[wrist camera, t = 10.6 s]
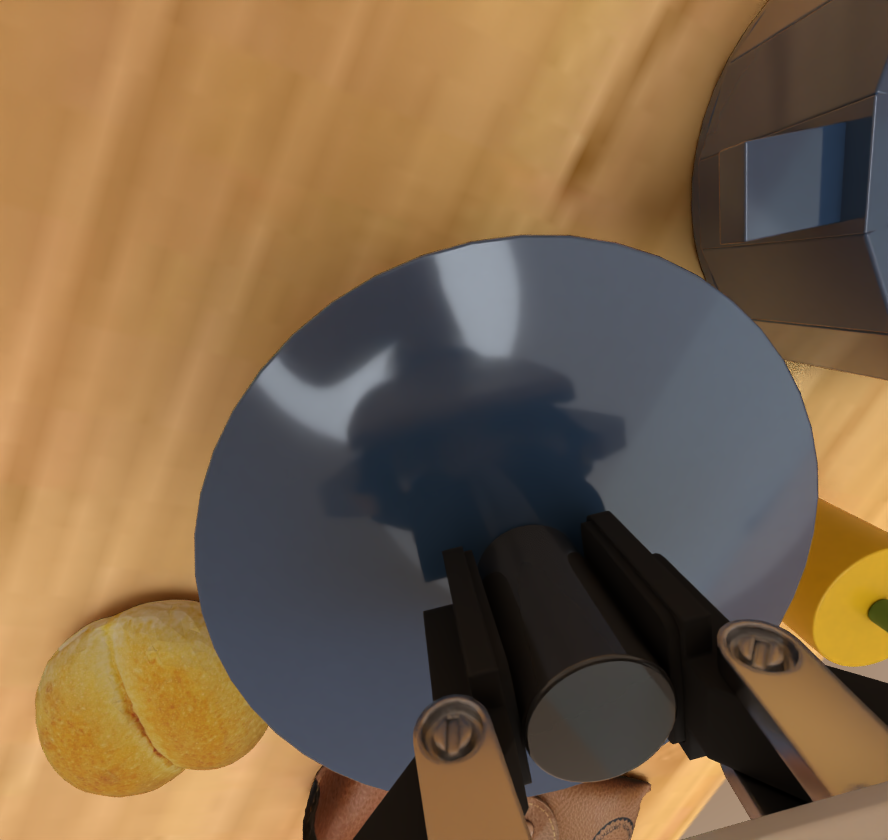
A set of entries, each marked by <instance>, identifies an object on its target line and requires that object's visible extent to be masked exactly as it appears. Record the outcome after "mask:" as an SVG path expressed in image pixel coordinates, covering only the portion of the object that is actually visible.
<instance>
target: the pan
mask: <svg viewBox="0 0 888 840" xmlns="http://www.w3.org/2000/svg"><path fill="white" fill-rule="evenodd" d="M691 211H692V222H693V233H694V239H695V244H696V249H697V253H698V258H699V262H700V265H701V268H702V270H703V273H704V276H705V279H706V282H708V283H709V284H711V285H712V286H713V287H715V288H716V289H718V290H719V291H720V292H722V293H723V294H725V295H726V296H727V297H729V298H730V299H731V300H733V301H734V302H735V303H736V304H737V305H738V306H739V307H740V308H741V309H742V310H743V311H744V312H745V313H746V314H747V315H748V316H749V317H750V318H751V319H752V320H753V321H754V322H755V323H756V324H757V325H758V326H759V327H760V328H761V329H762V331H763V332H764V333H765V335H766V336H767V338H768V339H769V340H770V342H771V343H772V344H773V346H774V347H775V349H776V350H777V351H778V353H779V354H780V355H781V357H782V358H783V360H787V361H792V362H797V363H802V364H807V365H812V366H816V367H821V368H826V369H831V370H836V371H841V372H846V373H851V374H856V375H861V376H866V377H871V378H876V379H881V380H886V381H888V0H769V1H768V2H767V3H766V5H765V6H764V7H763V9H762V10H761V11H760V12H759V14H758V15H757V16H756V18H755V19H754V20H753V22H752V23H751V24H750V25H749V27H748V28H747V30H746V31H745V33H744V35H743V36H742V38H741V39H740V41H739V43H738V44H737V46H736V48H735V49H734V51H733V52H732V54H731V56H730V57H729V59H728V61H727V64H726V66H725V68H724V70H723V72H722V74H721V76H720V78H719V80H718V82H717V84H716V86H715V89H714V92H713V94H712V97H711V100H710V103H709V105H708V108H707V111H706V114H705V117H704V120H703V124H702V128H701V132H700V136H699V140H698V144H697V148H696V154H695V162H694V169H693V176H692V200H691Z"/></svg>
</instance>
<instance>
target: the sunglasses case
mask: <svg viewBox="0 0 888 840" xmlns="http://www.w3.org/2000/svg"><path fill="white" fill-rule="evenodd" d="M649 791H651V784H649V783H648V782H646V781H643V780H638V779H633V778H629V777H625V776H621V775H620V776H618V777H614V778H611V779H608V780H603V781H598V782H588V783H582V784H579V785H576V786H573V787H570V788H567V789H563V790H559V791H554V792H550V793H546V794H541V795H537V796H532V797H527V801H528V805H529V809H528V811H527V813H526V815H525V819H526V822H527V825H528V828H529V831H530V834H531V837H532V840H631V837H632V834H633V830H634V827H635V823H636V819H637V816H638V812H639V809H640V803H641V800H642V798H643V797H644V795H645V794H646V793H647V792H649ZM387 793H388V791H385V790H381V789H378V788H374V787H371V786H368V785H364V784H362V783H359V782H357V781H355V780H352V779H350V778H348V777H345V776H343V775H341V774H338V773H336V772H333V771H332V770H330V769H328V768H326V767H325V766H322V767H321V769H320V770H319V771H318V772H317V774H316V778H315V780H314V783H313V785H312V788H311V791H310V795H309V799H308V802H307V806H306V809H305V817H304V819H303V840H353V838H354V837H355V836H356V834H357V833H358V832H359V830H360V829H361V828H362V826H363V825H364V824H365V822H366V821H367V820H368V818H369V817H370V815H371V814H372V813H373V811H374V810H375V809H376V807H377V806H378V805H379V803H380V802H381V801H382V799H383V798H384V797H385V795H386V794H387Z"/></svg>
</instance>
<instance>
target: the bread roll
mask: <svg viewBox="0 0 888 840" xmlns="http://www.w3.org/2000/svg"><path fill="white" fill-rule="evenodd" d="M35 706H36V726H37V730H38V735H39V740H40V743H41V746H42V749H43V751H44V753H45V755H46V757H47V759H48V761H49V763H50V764H51V766H52V767H53V768H54V770H55V771H56V772H57V773H58V774H59V775H60V776H61V777H62V778H63V779H64V780H65V781H67V782H68V783H70V784H71V785H73V786H74V787H76V788H78V789H80V790H82V791H84V792H88V793H93V794H97V795H103V796H109V797H125V796H132V795H138V794H143V793H147V792H150V791H153V790H155V789H158V788H160V787H161V786H163V785H164V784H166V783H168V782H169V781H171V780H172V779H174V778H175V777H176V776H178V775H179V774H180V773H182V772H183V771H184V770H185V769H193V770H212V769H218V768H221V767H225V766H227V765H230V764H232V763H234V762H235V761H237V760H239V759H240V758H242V757H243V756H244V755H246V754H247V753H248V752H249V751H250V750H251V749H253V748H254V746H255V745H256V744H257V743H258V741H259V740H260V739H261V737H262V736H263V734H264V733H265V731H266V729H267V727H268V725H267V724H266V723H265V722H264V721H263V720H262V719H261V718H260V717H259V716H258V715H257V714H256V713H255V712H254V711H253V709H252V708H251V707H250V706H249V704H248V703H247V702H246V700H245V699H244V698H243V696H242V695H241V694H240V692H239V691H238V689H237V688H236V687H235V685H234V684H233V683H232V681H231V680H230V678H229V676H228V674H227V672H226V670H225V669H224V667H223V665H222V663H221V661H220V659H219V657H218V655H217V653H216V651H215V650H214V647H213V644H212V642H211V639H210V636H209V633H208V630H207V627H206V624H205V621H204V618H203V615H202V612H201V606H200V603H199V602H196V601H191V600H163V601H155V602H149V603H145V604H141V605H138V606H135V607H132V608H130V609H128V610H126V611H123V612H121V613H119V614H117V615H115V616H112V617H107V618H103V619H99V620H97V621H94V622H92V623H90V624H88V625H86V626H85V627H83V628H82V629H81V630H79V631H78V632H77V633H75V634H74V635H73V636H71V637H70V638H68V639H67V640H66V641H65V642H64V643H63V644H62V645H61V646H60V647H59V648H58V650H57V651H56V652H55V654H54V655H53V656H52V658H51V659H50V660H49V661H48V663H47V665H46V667H45V669H44V672H43V675H42V677H41V680H40V683H39V686H38V689H37V692H36V698H35Z"/></svg>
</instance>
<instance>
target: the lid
mask: <svg viewBox="0 0 888 840" xmlns="http://www.w3.org/2000/svg"><path fill="white" fill-rule="evenodd" d="M817 504H818V465H817V457H816V451H815V445H814V439H813V433H812V427H811V424H810V421H809V418H808V415H807V412H806V409H805V406H804V402H803V399H802V396H801V393H800V391H799V389H798V387H797V385H796V383H795V381H794V379H793V377H792V375H791V373H790V371H789V369H788V367H787V365H786V363H785V361H784V360H783V358H782V357H781V355H780V354H779V353H778V351H777V350H776V349H775V347H774V346H773V344H772V343H771V342H770V340H769V339H768V338H767V336H766V335H765V333H764V332H763V331H762V329H761V328H760V327H759V326H758V325H757V324H756V323H755V322H754V321H753V320H752V319H751V318H750V317H749V316H748V315H747V314H746V313H745V312H744V311H743V310H742V309H741V308H740V307H739V306H738V305H737V304H736V303H735V302H734V301H733V300H731V299H730V298H729V297H727V296H726V295H725V294H723V293H722V292H720V291H719V290H718V289H716V288H715V287H713V286H712V285H711V284H709V283H708V282H706V281H705V280H704V279H702V278H701V277H699V276H698V275H696V274H694V273H692V272H690V271H688V270H686V269H684V268H682V267H680V266H678V265H676V264H674V263H672V262H670V261H668V260H666V259H664V258H662V257H660V256H657V255H654V254H651V253H648V252H645V251H641V250H638V249H635V248H632V247H629V246H626V245H623V244H619V243H616V242H610V241H604V240H597V239H591V238H585V237H579V236H572V235H514V236H506V237H499V238H491V239H484V240H476V241H470V242H467V243H463V244H459V245H456V246H452V247H449V248H445V249H442V250H438V251H434V252H431V253H427V254H424V255H421V256H419V257H416V258H414V259H412V260H409V261H407V262H405V263H403V264H400V265H398V266H396V267H393V268H391V269H389V270H387V271H384V272H382V273H380V274H377V275H375V276H373V277H372V278H370V279H369V280H367V281H365V282H364V283H362V284H360V285H359V286H357V287H356V288H354V289H352V290H351V291H349V292H347V293H346V294H344V295H342V296H341V297H339V298H338V299H336V300H334V301H333V302H331V303H330V304H329V305H328V306H326V307H325V308H324V309H323V310H321V311H320V312H319V313H318V314H317V315H315V316H314V317H313V318H312V319H311V320H309V321H308V322H307V323H306V324H305V325H303V326H302V327H301V328H300V329H298V330H297V331H296V332H295V333H294V334H292V336H291V337H290V338H289V339H288V340H287V341H286V342H285V343H284V344H283V345H282V346H281V348H280V349H279V350H278V351H277V352H276V353H275V354H274V355H273V356H272V357H271V359H270V360H269V361H268V362H267V363H266V364H265V365H264V366H263V367H262V368H261V369H260V371H259V372H258V374H257V375H256V377H255V378H254V379H253V381H252V382H251V384H250V385H249V387H248V388H247V390H246V391H245V393H244V394H243V396H242V397H241V399H240V400H239V402H238V403H237V404H236V406H235V407H234V409H233V411H232V413H231V415H230V417H229V419H228V421H227V423H226V425H225V427H224V429H223V431H222V433H221V436H220V438H219V440H218V442H217V444H216V446H215V448H214V450H213V453H212V456H211V459H210V463H209V466H208V469H207V473H206V476H205V479H204V482H203V486H202V489H201V492H200V499H199V505H198V512H197V519H196V526H195V533H194V540H195V577H196V583H197V589H198V595H199V600H200V606H201V612H202V615H203V618H204V621H205V624H206V627H207V630H208V633H209V636H210V639H211V642H212V644H213V647H214V650H215V651H216V653H217V655H218V657H219V659H220V661H221V663H222V665H223V667H224V669H225V670H226V672H227V674H228V676H229V678H230V680H231V681H232V683H233V684H234V685H235V687H236V688H237V689H238V691H239V692H240V694H241V695H242V696H243V698H244V699H245V700H246V702H247V703H248V704H249V706H250V707H251V708H252V709H253V711H254V712H255V713H256V714H257V715H258V716H259V717H260V718H261V719H262V720H263V721H264V722H265V723H266V724H267V725H268V726H269V727H270V728H271V729H272V730H273V731H274V732H275V733H276V734H278V735H279V736H280V737H282V738H283V739H284V740H285V741H287V742H288V743H289V744H291V745H292V746H293V747H295V748H296V749H297V750H298V751H300V752H301V753H302V754H304V755H306V756H307V757H309V758H311V759H313V760H314V761H316V762H318V763H319V764H321V765H323V766H325V767H326V768H328V769H330V770H332V771H333V772H336V773H338V774H341V775H343V776H345V777H348V778H350V779H352V780H355V781H357V782H359V783H362V784H364V785H368V786H371V787H374V788H378V789H381V790H385V791H389V790H390V789H391V787H392V786H393V785H394V783H395V782H396V781H397V779H398V778H399V777H400V775H401V774H402V773H403V771H404V770H405V769H406V767H407V766H408V765H409V763H410V762H411V761H412V759H413V758H414V757H415V752H414V745H413V730H414V727H415V724H416V721H417V719H418V717H419V716H420V714H421V713H422V711H423V710H424V709H425V708H426V707H427V706H428V705H430V704H431V703H432V702H433V697H432V688H431V680H430V671H429V662H428V653H427V644H426V635H425V626H424V617H423V611H426V610H430V609H434V608H438V607H442V606H446V605H450V604H453V603H452V598H451V593H450V588H449V583H448V579H447V574H446V569H445V564H444V559H443V555H442V551H444V550H448V549H452V548H456V547H460V546H462V547H463V550H464V551H468V550H472V552H473V555H474V558H475V561H476V564H477V568H478V571H479V574H480V577H481V580H482V583H483V586H484V589H485V592H486V595H487V599H488V602H489V605H490V608H491V611H492V614H493V617H494V620H495V623H496V626H497V629H498V633H499V636H500V639H501V642H502V645H503V648H504V651H505V654H506V658H507V661H508V665H509V669H510V673H511V677H512V682H513V687H514V692H515V697H516V703H517V708H518V713H519V718H520V723H521V734H522V737H523V741H524V744H525V748H526V753H527V758H528V763H529V768H530V774H531V779H532V783H530V784H527V785H524V786H525V791H526V796H527V797H532V796H537V795H541V794H546V793H550V792H554V791H559V790H563V789H567V788H570V787H573V786H576V785H579V784H582V783H588V782H598V781H603V780H608V779H611V778H614V777H618V776H620V775H623V774H625V773H627V772H629V771H631V770H633V769H635V768H637V767H638V766H640V765H641V764H643V763H644V762H645V761H647V760H648V759H649V758H650V757H652V756H653V755H654V754H655V753H656V752H657V751H658V750H659V749H660V747H661V746H663V745H664V744H666V743H667V742H669V740H668V739H667V738H668V737H669V735H670V733H671V731H672V729H673V727H674V724H675V721H676V718H677V712H678V699H677V693H676V689H675V686H674V684H673V682H672V680H671V678H670V677H669V675H668V674H667V672H666V671H665V670H664V668H663V667H662V665H661V664H660V663H659V661H658V660H657V658H656V657H655V656H654V654H653V653H652V652H651V650H650V649H649V647H648V646H647V645H646V643H645V642H644V640H643V639H642V638H641V636H640V635H639V634H638V632H637V631H636V629H635V628H634V627H633V625H632V624H631V622H630V621H629V620H628V618H627V617H626V616H625V614H624V613H623V611H622V610H621V609H620V607H619V606H618V604H617V603H616V602H615V600H614V599H613V598H612V596H611V595H610V593H609V592H608V591H607V589H606V588H605V586H604V585H603V584H602V582H601V581H600V579H599V578H598V577H597V575H596V574H595V573H594V571H593V570H592V568H591V567H590V566H589V564H588V563H587V561H586V560H585V559H584V551H583V543H582V535H581V523H583V522H586V518H587V516H588V515H592V514H596V513H600V512H604V511H610V512H611V513H612V514H613V515H614V516H615V517H616V518H617V519H618V520H619V521H620V522H621V523H622V524H623V525H624V526H625V527H626V528H627V529H628V530H629V531H630V532H631V533H632V534H633V535H634V536H635V537H636V538H637V539H638V540H639V541H640V542H641V543H642V544H643V545H644V546H645V547H646V548H647V549H648V550H649V551H650V552H651V553H652V554H654V553H659V554H661V555H662V556H664V557H665V558H666V559H667V560H668V561H669V562H670V563H671V564H672V565H673V566H674V567H675V568H676V569H677V570H678V571H679V572H680V573H681V574H682V575H683V576H684V577H685V578H686V579H687V580H688V581H689V582H690V583H691V584H692V585H693V586H694V587H695V588H696V589H697V590H698V591H699V592H700V593H701V594H703V595H704V596H705V597H706V598H707V599H708V600H709V601H710V602H711V603H712V604H713V605H714V606H715V607H716V608H717V609H718V610H719V611H720V612H721V613H722V614H723V615H724V616H725V617H726V618H727V619H728V620H729V621H730V622H731V621H734V620H741V619H753V620H761V621H765V622H768V623H771V624H774V625H777V626H779V625H780V624H781V622H782V620H783V618H784V616H785V614H786V612H787V610H788V608H789V606H790V604H791V602H792V600H793V598H794V596H795V593H796V591H797V588H798V585H799V583H800V580H801V577H802V575H803V572H804V570H805V567H806V563H807V559H808V555H809V551H810V547H811V543H812V539H813V535H814V529H815V521H816V512H817Z"/></svg>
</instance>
